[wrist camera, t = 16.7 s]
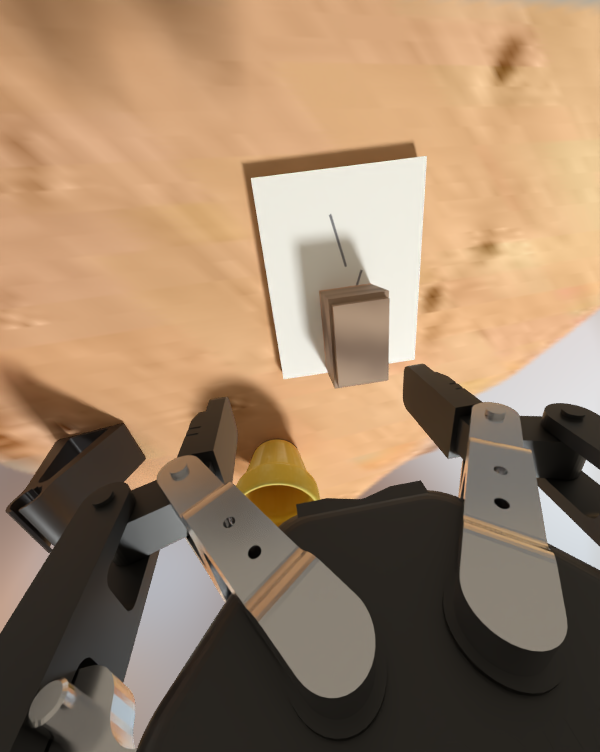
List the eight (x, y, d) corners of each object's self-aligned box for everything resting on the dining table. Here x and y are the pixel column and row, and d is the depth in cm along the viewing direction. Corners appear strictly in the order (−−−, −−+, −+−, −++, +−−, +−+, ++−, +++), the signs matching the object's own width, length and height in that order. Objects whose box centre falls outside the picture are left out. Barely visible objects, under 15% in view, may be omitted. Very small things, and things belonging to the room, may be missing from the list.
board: (251, 181, 26) (250, 178, 25) (418, 160, 27) (426, 155, 25) (283, 373, 35) (283, 379, 33) (408, 354, 35) (414, 359, 34)
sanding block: (318, 290, 29) (329, 301, 24) (370, 283, 30) (392, 292, 24) (326, 368, 33) (336, 392, 28) (371, 361, 34) (390, 383, 28)
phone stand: (124, 422, 36) (61, 499, 25) (146, 457, 38) (98, 541, 28) (57, 439, 36) (-35, 523, 25) (84, 473, 38) (10, 562, 28)
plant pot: (235, 481, 42) (225, 545, 33) (243, 423, 37) (235, 479, 29) (303, 486, 43) (311, 548, 34) (318, 432, 39) (332, 486, 30)
